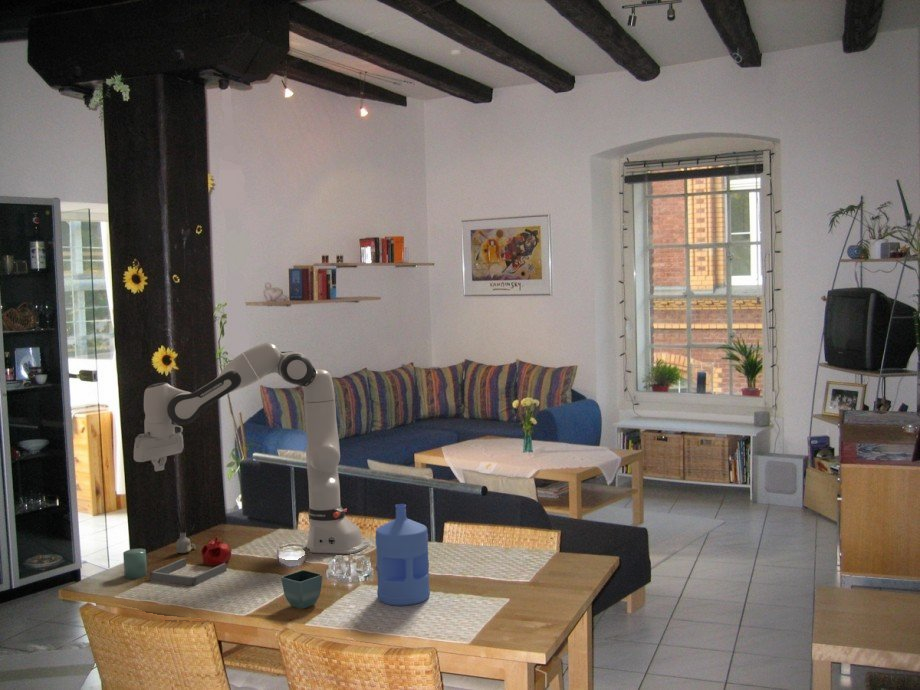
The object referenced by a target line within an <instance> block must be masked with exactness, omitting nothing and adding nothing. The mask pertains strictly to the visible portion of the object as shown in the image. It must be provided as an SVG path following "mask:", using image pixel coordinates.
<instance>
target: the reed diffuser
mask: <svg viewBox="0 0 920 690" xmlns="http://www.w3.org/2000/svg"><path fill="white" fill-rule="evenodd" d="M171 501H172V505H173V508H174V511H175V515H176V518H177V519H176V520H177V522H178V526H179V530H180V533H179V534H180V535H179V538H178V539H177V540H176V551H177V553H178V554H185V553H189V552H191V550H195V549H196V548H197V547H196V545H195V544H194V543H191V539H190V538H188V537H187V534H186V527H184V525H186V522H187V521H186V520H187V511H185V514H184V515H185V516H184V522H183V518H182V513H181V507H180V501H179V500H177V504H178V509H179V514H180V516H179V515H178V512H177V509H176V506H175V501H174V500H173V499H171ZM187 504H188V496H186V500H185V510H187V507H188V505H187ZM179 517H180V519H179ZM180 520H181V522H180ZM183 523H184V525H183Z"/></svg>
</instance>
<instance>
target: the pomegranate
mask: <svg viewBox="0 0 920 690" xmlns="http://www.w3.org/2000/svg"><path fill="white" fill-rule="evenodd" d="M218 538H219V537H218V535H217V536H214V540H211V539H210V540H208V542H205V543H204V545H203V547H202V549H201V550H200V551H201V556H202V558H201V559H202V562H203V563H204V564H205V565H207V566H215V567H217V566H219V565H221V564H223V563H226V564H227V563H228V562H230V560H231V558H232V550H231V547H230V546H229V545H228V544H227V543H226V542H223V541H224V539H221V540H219V539H218ZM218 540H219V541H218Z"/></svg>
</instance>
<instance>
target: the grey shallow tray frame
mask: <svg viewBox="0 0 920 690" xmlns="http://www.w3.org/2000/svg"><path fill="white" fill-rule="evenodd" d="M186 566H187V558H186V557H184V558H181V559H178V560H175V561H174V562H172V563H169V564H167V565H163V566H162V567H159V568H156V569H154V570H151V571H150V572H149V580H150V581H154V582H155V581H156V582H162V583H163V582H164V583H168V584H169V583H171V584H176V585H177V584H178V585H184V586H191V587H192V586H193V587H195V586H197V585H199V584H201V583H204V582H205V581H208V580H210V579H212V578H215V577H216V576H219V575H221V574H223V573H224V572H227V569H228V568H227V567H228V566H227V562H226V563H223V564H221V565H217V566H215V567H212V568H210V569H207V570H206V571H204V572H202V573H199V574H197V575H195V576H191V575H190V576H189V575H181V574H176V573H175V574H174V573H173V572H175V571H177V570H179V569H182V568H184V567H186Z"/></svg>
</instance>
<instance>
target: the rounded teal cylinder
mask: <svg viewBox="0 0 920 690" xmlns="http://www.w3.org/2000/svg"><path fill="white" fill-rule="evenodd" d="M122 555H123V571H124V572H123V573H124V575H123V576H124V578H125V579H126V580H135V579H141V578H143V577H147V575H148V569H147V568H148V567H147V550H146V549H145V548H131V549H128V550H127V549H126V550H125V551H123V553H122Z"/></svg>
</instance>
